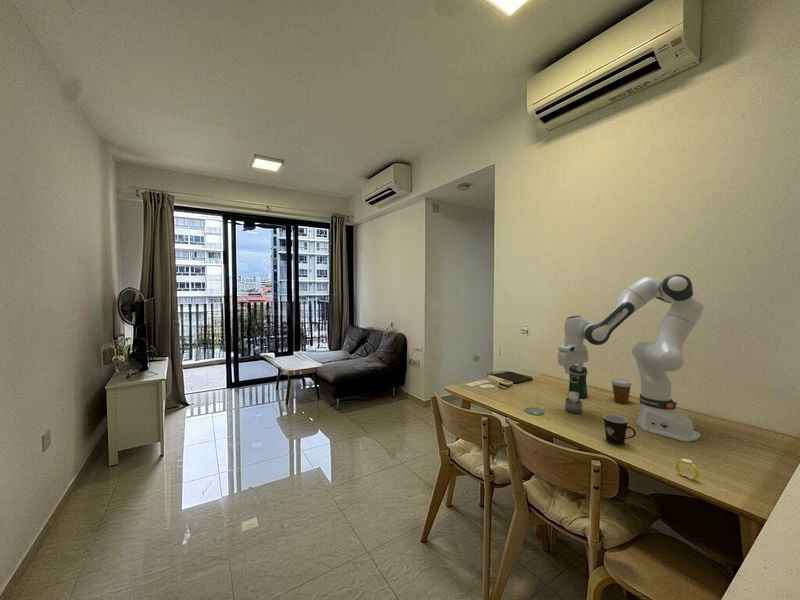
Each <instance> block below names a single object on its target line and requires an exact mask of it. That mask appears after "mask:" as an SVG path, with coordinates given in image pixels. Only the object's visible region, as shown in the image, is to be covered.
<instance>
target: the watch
mask: <svg viewBox="0 0 800 600" xmlns="http://www.w3.org/2000/svg"><path fill="white" fill-rule="evenodd" d="M680 463H683V464H685V465H690V467H692V468H693V470H694V471H695V475H694V478H693V477H692V479H693V480H696V479H697V478H699V476H700V472H699V469H698V466H696V465H695V464H694V463H693V460H691V459H687V458H681V460H678V461H676V463H675V469H676V472H677V473H678V472H682V471H681V468H680Z"/></svg>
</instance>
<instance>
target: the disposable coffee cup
mask: <svg viewBox="0 0 800 600" xmlns="http://www.w3.org/2000/svg"><path fill="white" fill-rule="evenodd" d="M611 385H612V390H613V398H614V402H616V403H618V404H624V405H625V404H628V403H629V398H630V393H631V387H632V382H631V381H630V380H628V379H620V378H612V380H611Z"/></svg>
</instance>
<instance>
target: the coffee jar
mask: <svg viewBox="0 0 800 600" xmlns="http://www.w3.org/2000/svg"><path fill="white" fill-rule="evenodd" d="M577 367H578V364H574V365H569V367H568V368H569V370H570V373H569V385H568V392H569V391H570V392H577V393H578V394H579V396H578V399H586V398H588V387H587V376H588V369H587V367H586V366H582V371H577Z"/></svg>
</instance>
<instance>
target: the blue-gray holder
mask: <svg viewBox="0 0 800 600" xmlns="http://www.w3.org/2000/svg"><path fill="white" fill-rule="evenodd" d="M564 405H565V407H564V410H565V412H566V413H567V414H573V415H582V414H583V401H581V398H578V402H577V404H573V403H572V401H569V396H568V397H566V398H565V401H564Z"/></svg>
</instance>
